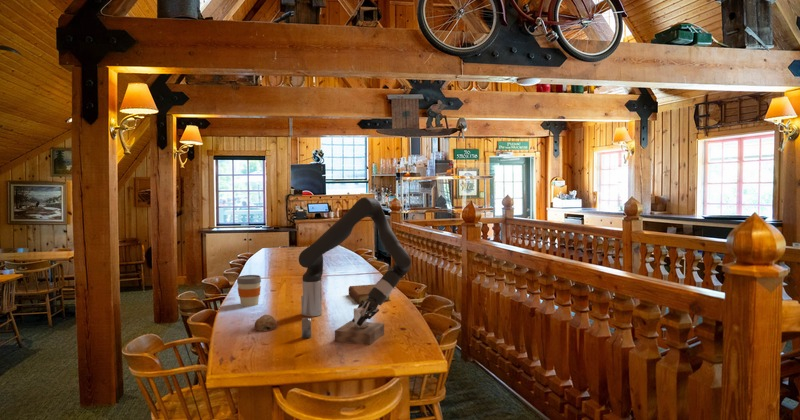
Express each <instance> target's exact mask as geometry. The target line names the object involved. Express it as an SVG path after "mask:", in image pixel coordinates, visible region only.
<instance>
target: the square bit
mask: <svg viewBox="0 0 800 420" xmlns="http://www.w3.org/2000/svg"><path fill="white" fill-rule="evenodd" d="M364 312H365V309H364V308H358V307H356V308H353V318H354V329H361V330H364V329H365V328H367V327H366V322H367V320H365V321H364V322H363V324H362V325H361V326H359V325H358V324H357V321H358V320H359V319H360V318H361V316H362V315H363V314H364ZM362 317H363V316H362Z"/></svg>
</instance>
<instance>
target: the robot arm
mask: <svg viewBox="0 0 800 420" xmlns="http://www.w3.org/2000/svg"><path fill="white" fill-rule="evenodd" d="M365 218H370V219H371V220H372V221H373V222H374V224H375V225H376V228H377V230H378V231H377V232H378V236H379V239H380V242H381V244H382V245H383V247H384V249H385V250H386V252H387V253H388V255H390V256H391V258H392V260H393V261H394V264H393V266H392V267H391V268H390V269H389V270H387V271H385V273H384V274H383V276H382V277H380V279H379V280H378V281H377V282H376V283H375V284H376V285H375V286H374V287H373V288H372V290H371V291H370V292H369V293H368V297H369V298H368V299H367V300H366V301H363V300H362V301H361V302H360V304H358V306H357V308H364V309H365V312H364V314H363V315H362V316H363V317H362V316H361V318H360V319H359V320H358V321H357V324H358V325H359V326H361V325H362V324H363V322H364V321H365V320H366V321H367V320H371V319H372V318H373V317H374V316H375V315H376V314H377V313H379V311H380V309H379V308H378V306H382V305H383V303H385V302H384V301H385V300H386V298H387V297H388V296H389V297H390V295H391V294H392V291H393V290H394V289H395V288H396V286H397V285H398V283H399V282H400V280H401V279H402V278H404V276H406V274H407V273H408V272H409V271H410V269H411V267H412V258H411V257H410V256H411V255H409V253H408V252H407V251H406V249H405V248H404V247H403V246H402V244H401V242H400V240H399V239H398V238H397V235H396V233H394V231H393V229H392V227H391V225H390V223H389V221H388V219H387V217H386V214H385V212H384V210H383V208H382V205H381V203H380V200H378V199H377V198H375V197H367V196H363V197H361V198H359V199H358V200H357V201H356V202H355V203H354V204H353V205H352V206H351V207H350V209H349V210H348V211H347V212H346V213H345V214H344V215H342V216H341V217H340V218H339V219H338V220H337V221H336V222H335V223H333V224H332V225H331V226H330V227H329V228H328V229H327V230H326V231H325V232H323V234H322V235H321V236H319V238H317V239H316V240H315V241H314V242H313V243H312V244H310V245H309V246H307V247H306V248H304V250H302V251H301V252H300V253H299V255H298V263H299V265H300V266H301V267H303V268H305V269H306V271H305V272H304V273H303V275H302V295H301V296H300V298H301V299H300V300H301V301H300V302H301V303H300V304H301V306H300V308H301V310H300V311H301V312H300V313H301V316H305V317H318V316H321V315H322V314H323V312H322V311H323V305H322V300H323V299H322V297H323V295H322V276H323V272H324V254H325V253H327V252H329V251H330V250H333V249H335V248H336V247H338V246H339V245H340V244H342V243H343V242H344V241H345V240H347V239H348V238H349V237H350V235H351V233H352V231H353V229H354V227H355V226H356V225H357V224H358V223H360V221H361V220H364V219H365ZM390 293H391V294H390ZM351 321H353V322H354V317H353V318H352V319H351Z"/></svg>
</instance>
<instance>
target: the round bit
mask: <svg viewBox="0 0 800 420" xmlns="http://www.w3.org/2000/svg"><path fill="white" fill-rule="evenodd" d="M301 338H302V339H311V338H312V317H302V318H301Z"/></svg>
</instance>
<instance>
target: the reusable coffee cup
mask: <svg viewBox="0 0 800 420" xmlns="http://www.w3.org/2000/svg"><path fill="white" fill-rule="evenodd" d="M236 280H237V281H236V284H237V293H238V297H239V300H240V305H241V306H242V307H254V306H257V305H259V300H260V299H259V298H260V295H261V287H262V286H261V282H262V278H261V275H258V274H245V275H241V276H237V277H236Z"/></svg>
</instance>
